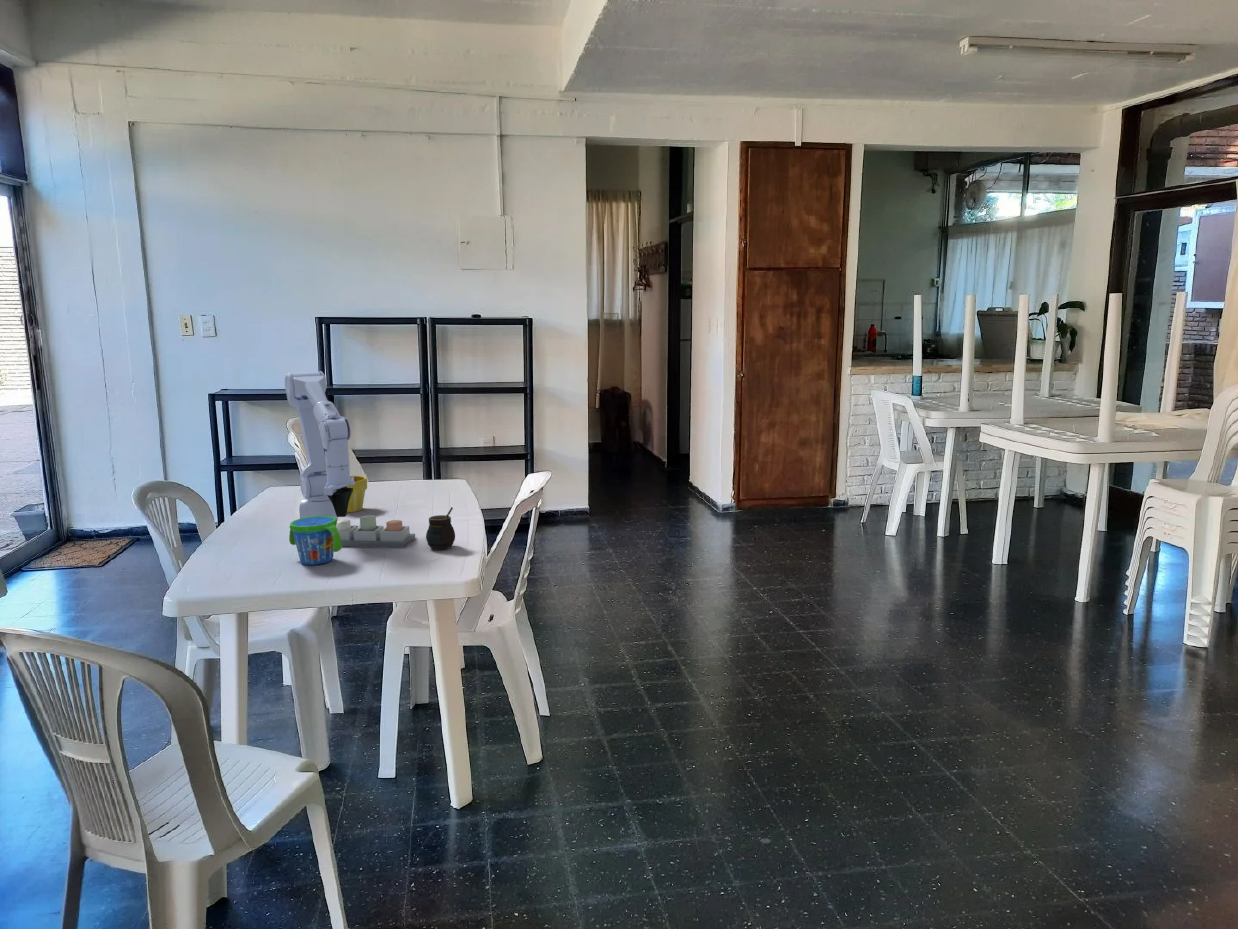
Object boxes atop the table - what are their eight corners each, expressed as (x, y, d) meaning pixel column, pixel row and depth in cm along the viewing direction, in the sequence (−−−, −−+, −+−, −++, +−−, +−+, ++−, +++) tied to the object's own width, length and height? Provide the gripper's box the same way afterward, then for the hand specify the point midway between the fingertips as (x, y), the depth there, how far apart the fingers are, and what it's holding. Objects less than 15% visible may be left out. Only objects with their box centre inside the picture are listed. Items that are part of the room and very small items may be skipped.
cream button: (332, 538, 216) (331, 523, 216) (339, 534, 220) (337, 519, 220) (347, 538, 216) (346, 523, 215) (353, 534, 220) (352, 519, 219)
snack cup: (278, 561, 202) (274, 521, 200) (316, 551, 211) (312, 512, 209) (317, 572, 193) (314, 530, 191) (355, 561, 202) (352, 520, 200)
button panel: (322, 546, 214) (321, 532, 214) (336, 537, 223) (335, 523, 223) (403, 547, 213) (402, 533, 212) (415, 538, 221) (414, 524, 221)
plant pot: (362, 514, 249) (360, 481, 247) (328, 514, 249) (325, 482, 247) (373, 505, 259) (371, 475, 257) (340, 506, 259) (337, 475, 257)
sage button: (358, 533, 216) (357, 518, 215) (364, 529, 220) (363, 515, 219) (373, 534, 215) (372, 519, 215) (379, 530, 219) (378, 515, 218)
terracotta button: (384, 538, 215) (383, 523, 214) (390, 534, 219) (389, 520, 218) (400, 539, 215) (399, 524, 214) (405, 535, 219) (404, 520, 218)
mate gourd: (420, 549, 211) (418, 510, 209) (442, 542, 217) (440, 505, 216) (440, 553, 207) (438, 514, 205) (462, 546, 213) (460, 508, 212)
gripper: (341, 470, 207) (345, 523, 210) (363, 460, 222) (367, 509, 224) (313, 470, 208) (318, 523, 210) (338, 460, 222) (341, 509, 225)
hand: (341, 516), depth 217 cm, fingers closed
